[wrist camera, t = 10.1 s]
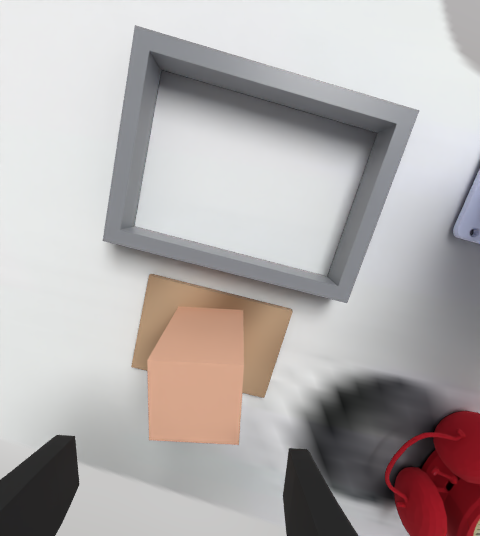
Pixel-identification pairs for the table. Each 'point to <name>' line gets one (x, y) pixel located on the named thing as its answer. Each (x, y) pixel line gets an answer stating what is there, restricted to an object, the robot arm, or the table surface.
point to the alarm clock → (442, 481)
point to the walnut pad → (189, 295)
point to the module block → (197, 377)
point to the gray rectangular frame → (274, 90)
